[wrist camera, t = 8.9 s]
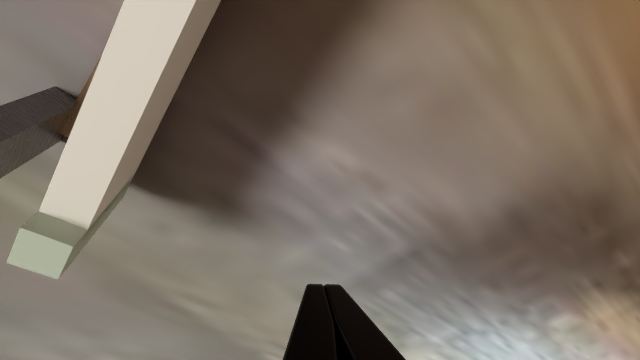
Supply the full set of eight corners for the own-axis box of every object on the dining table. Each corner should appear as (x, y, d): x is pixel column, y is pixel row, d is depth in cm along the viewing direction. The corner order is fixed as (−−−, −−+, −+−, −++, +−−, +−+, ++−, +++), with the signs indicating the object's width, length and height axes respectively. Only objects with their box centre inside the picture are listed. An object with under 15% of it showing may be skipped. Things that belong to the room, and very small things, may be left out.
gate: (254, -182, 12) (240, -338, 7) (294, -147, 12) (310, -264, 7) (90, 182, 17) (6, 262, 12) (123, 197, 17) (58, 279, 12)
